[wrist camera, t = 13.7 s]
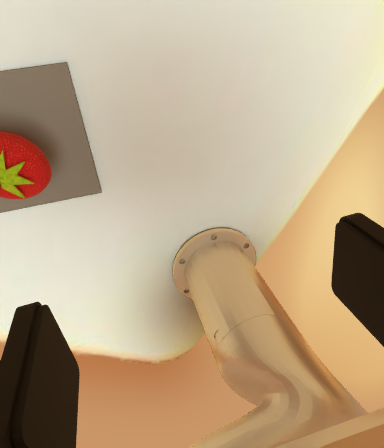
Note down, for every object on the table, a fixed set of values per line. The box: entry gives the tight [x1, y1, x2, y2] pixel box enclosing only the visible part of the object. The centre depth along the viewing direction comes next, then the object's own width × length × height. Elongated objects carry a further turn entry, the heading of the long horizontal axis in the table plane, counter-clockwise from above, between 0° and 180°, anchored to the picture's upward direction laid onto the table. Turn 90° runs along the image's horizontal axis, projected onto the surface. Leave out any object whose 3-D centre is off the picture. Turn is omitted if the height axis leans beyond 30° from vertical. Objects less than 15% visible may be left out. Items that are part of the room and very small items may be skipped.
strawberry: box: [0, 131, 52, 199], centre depth 31 cm, size 6×8×10 cm
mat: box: [0, 62, 101, 213], centre depth 36 cm, size 14×14×1 cm
